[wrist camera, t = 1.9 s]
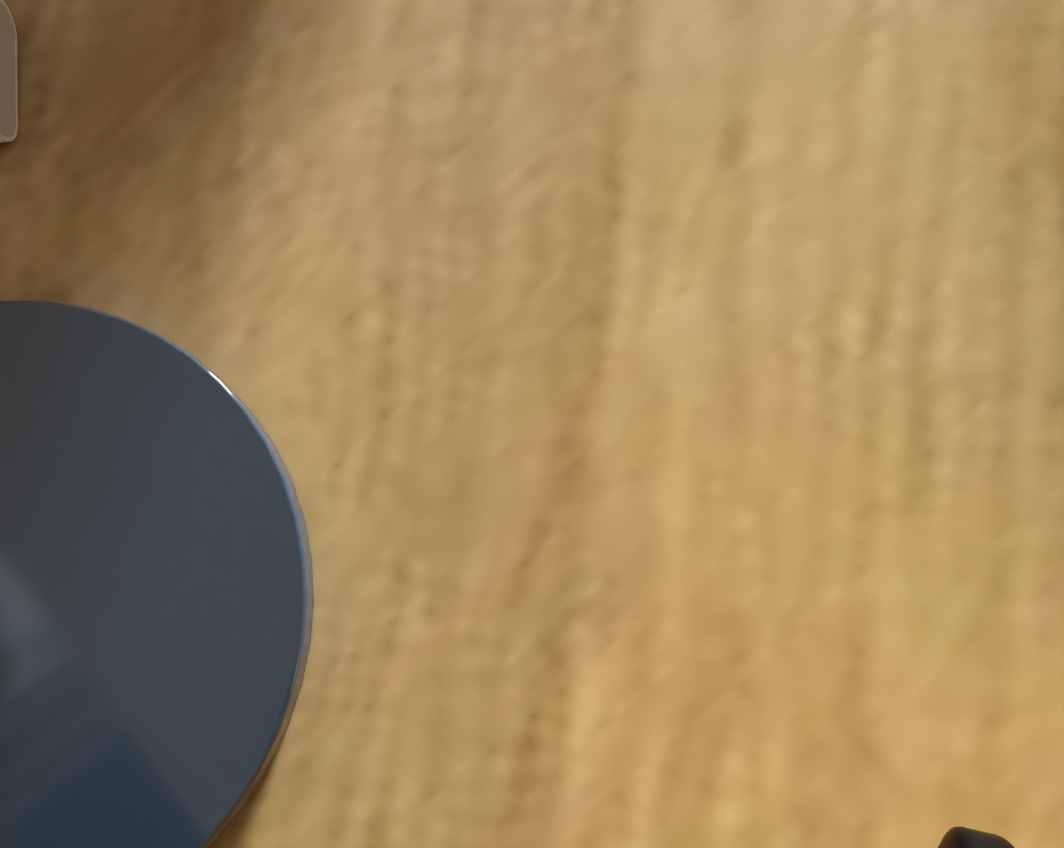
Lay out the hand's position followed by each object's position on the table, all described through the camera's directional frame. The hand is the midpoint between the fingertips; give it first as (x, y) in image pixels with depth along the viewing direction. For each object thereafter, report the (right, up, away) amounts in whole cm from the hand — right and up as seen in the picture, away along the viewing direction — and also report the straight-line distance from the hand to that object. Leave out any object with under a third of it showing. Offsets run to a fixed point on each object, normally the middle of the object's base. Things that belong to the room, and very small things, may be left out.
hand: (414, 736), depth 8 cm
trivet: (-12, -2, +15) cm, 19 cm away
